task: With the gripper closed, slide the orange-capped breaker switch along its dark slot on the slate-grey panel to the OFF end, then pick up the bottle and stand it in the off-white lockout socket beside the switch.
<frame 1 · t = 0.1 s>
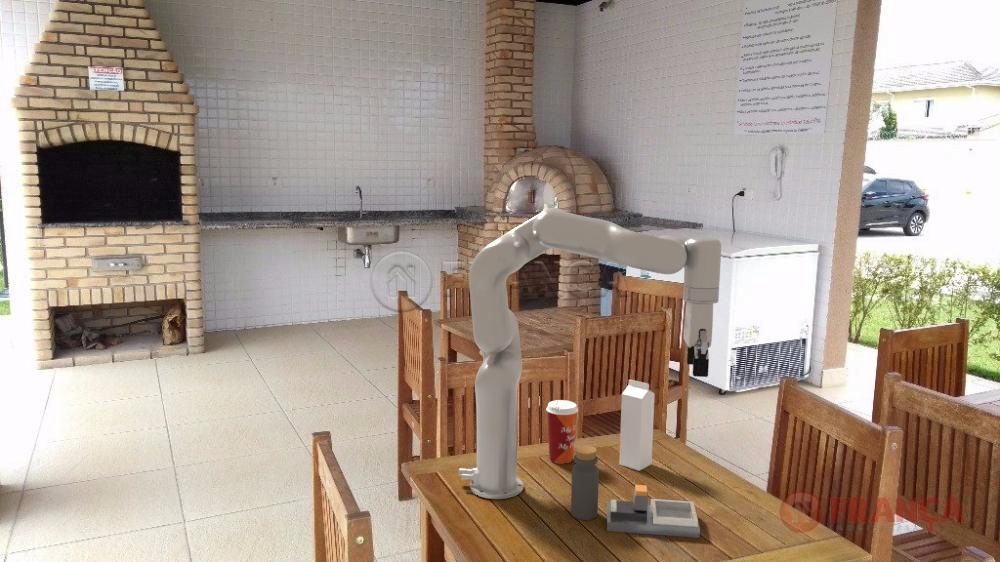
hand: (697, 370, 171), 31 cm above the table, tool pointing down, fingers open, 9 cm apart
coffee cup: (561, 460, 200), on the table
bottle: (584, 515, 169), on the table
milk: (635, 465, 197), on the table
toggle: (640, 497, 165), point 6 cm above the table, slide at 0.0 cm
panel: (651, 523, 165), on the table
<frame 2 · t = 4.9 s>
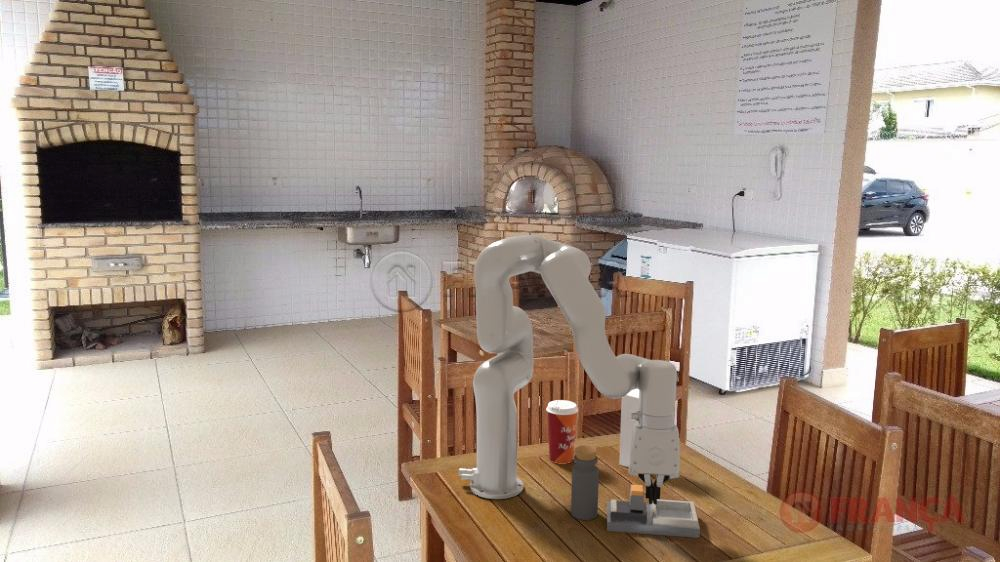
hand: (652, 501, 164), 5 cm above the table, tool pointing down, fingers closed
toggle: (636, 497, 165), point 6 cm above the table, slide at 0.9 cm, touching gripper
everything else where it was.
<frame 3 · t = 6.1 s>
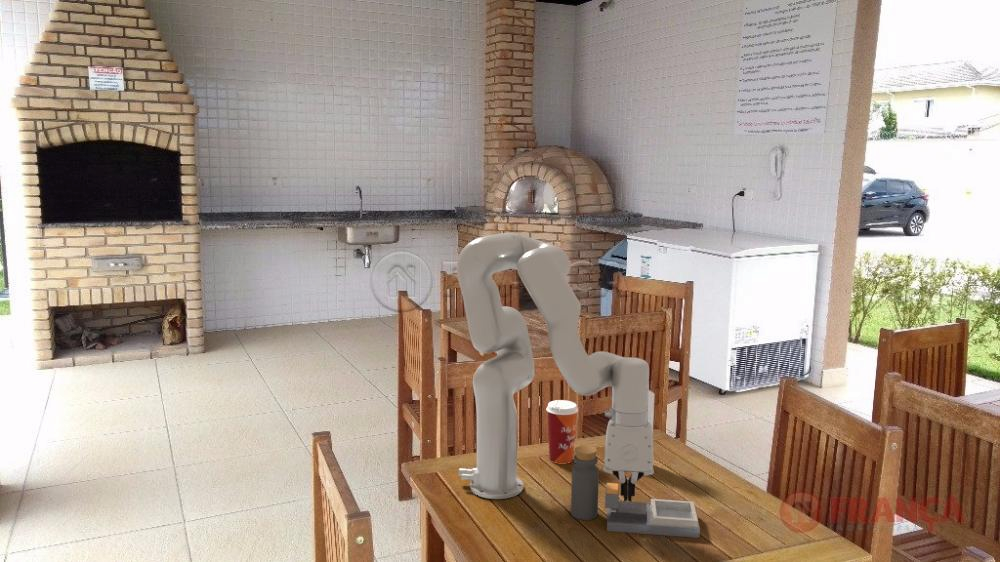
hand: (627, 498, 165), 5 cm above the table, tool pointing down, fingers closed
toggle: (612, 495, 166), point 6 cm above the table, slide at 6.1 cm, touching gripper
everything else where it was.
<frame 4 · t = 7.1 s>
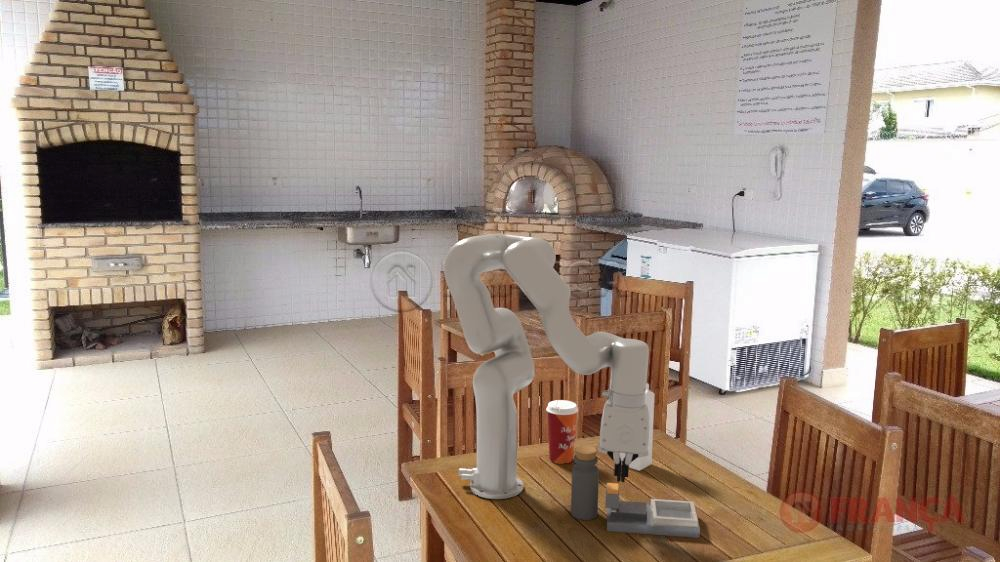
hand: (620, 479, 165), 9 cm above the table, tool pointing down, fingers closed
toggle: (612, 495, 166), point 6 cm above the table, slide at 6.0 cm
everything else where it was.
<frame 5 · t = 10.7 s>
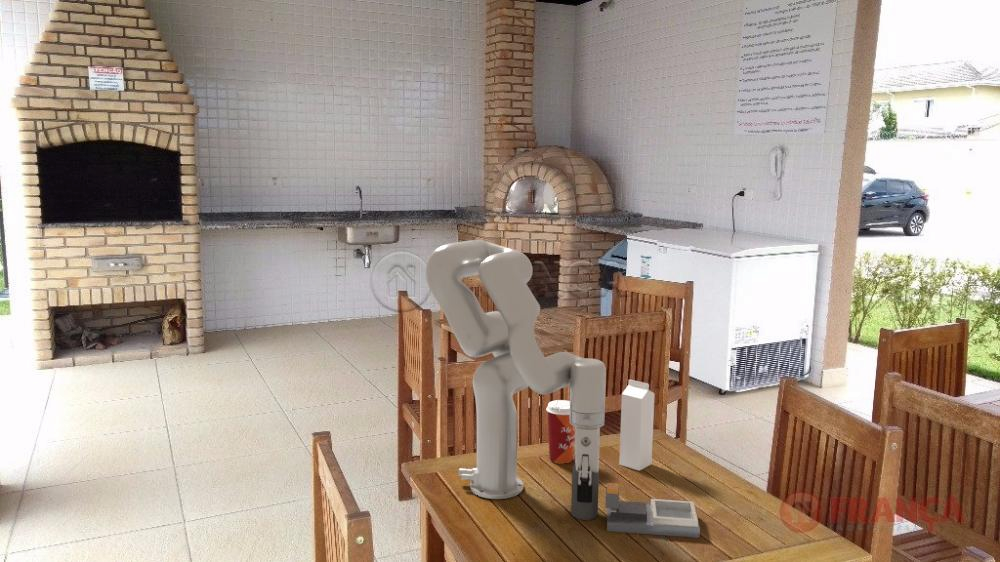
hand: (585, 494, 168), 5 cm above the table, tool pointing down, fingers closed on bottle, 5 cm apart
bottle: (584, 515, 169), on the table, touching gripper
everything else where it was.
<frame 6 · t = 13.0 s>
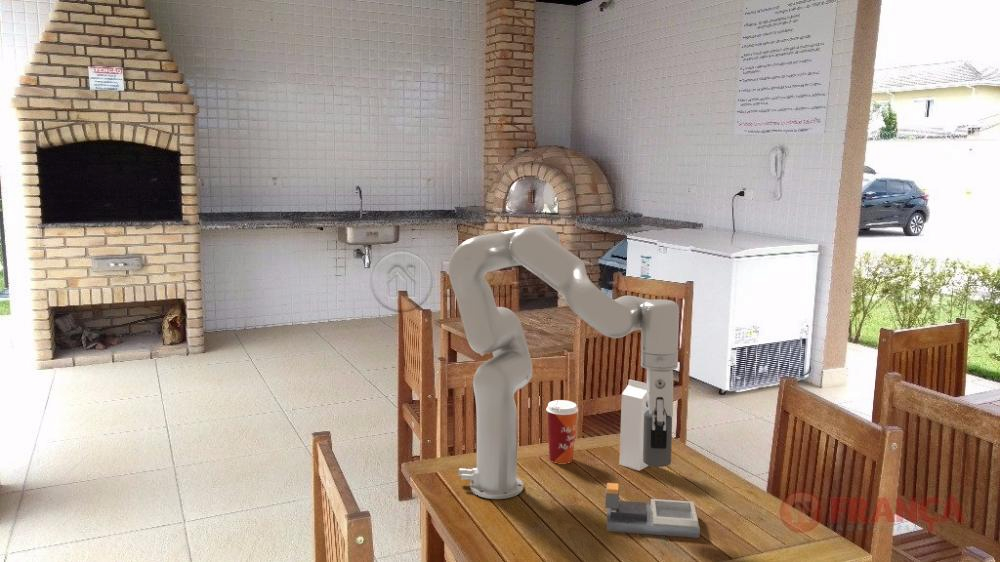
hand: (657, 441, 163), 18 cm above the table, tool pointing down, fingers closed on bottle, 5 cm apart
bottle: (656, 462, 163), point 14 cm above the table, touching gripper
everything else where it was.
when the fingers open (7 cm above the table, at t = 15.6 s): bottle stays where it is, resting on panel.
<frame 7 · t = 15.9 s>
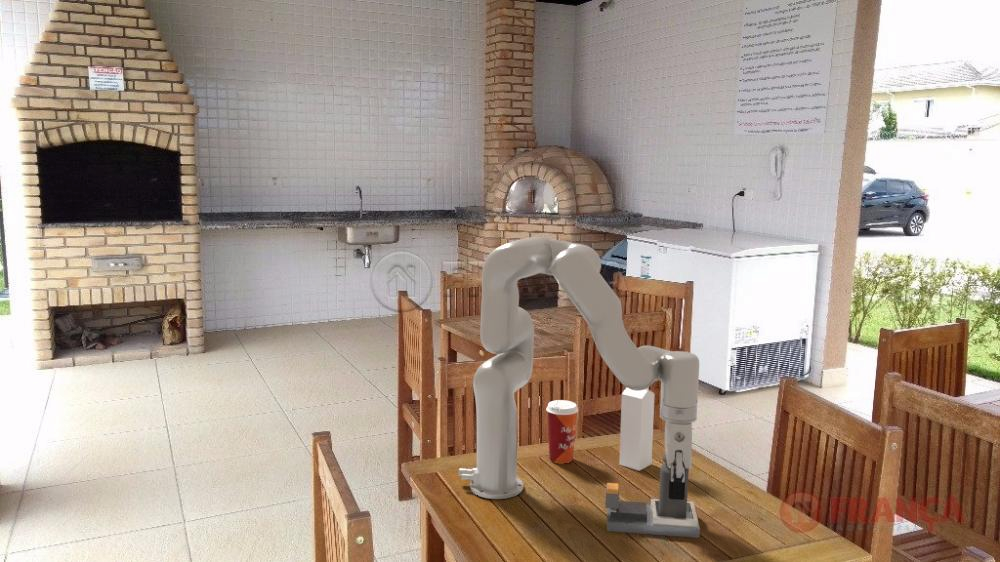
hand: (674, 489, 163), 8 cm above the table, tool pointing down, fingers open, 8 cm apart
bottle: (672, 516, 165), point 2 cm above the table, touching panel
everything else where it was.
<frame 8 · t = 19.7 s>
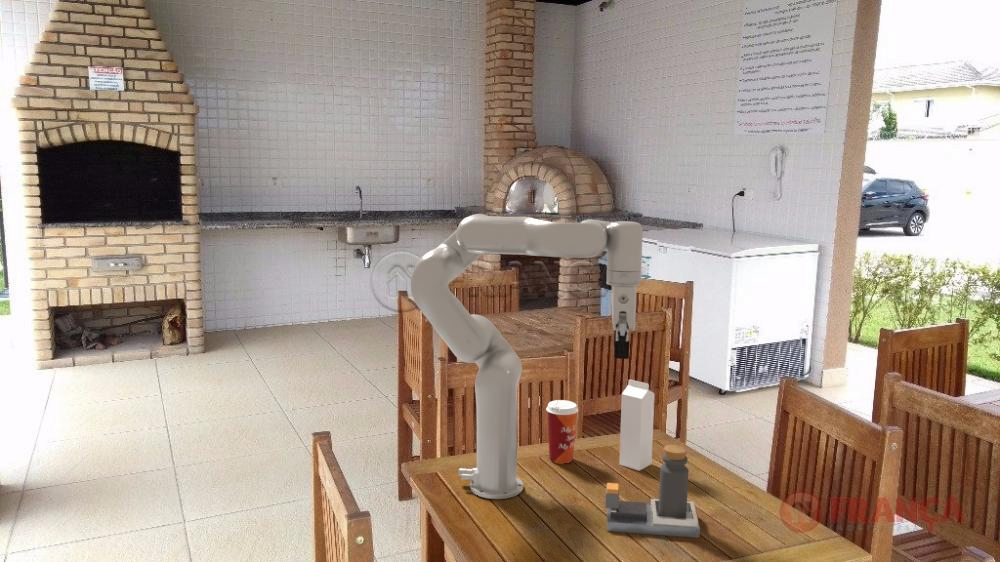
hand: (621, 352, 173), 34 cm above the table, tool pointing down, fingers open, 9 cm apart
nothing on the table moved.
at the end: toggle slide at 6.0 cm; bottle 0.4 cm from the target spot on the panel, point 1.8 cm above the panel's base; bottle tilted 0° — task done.
